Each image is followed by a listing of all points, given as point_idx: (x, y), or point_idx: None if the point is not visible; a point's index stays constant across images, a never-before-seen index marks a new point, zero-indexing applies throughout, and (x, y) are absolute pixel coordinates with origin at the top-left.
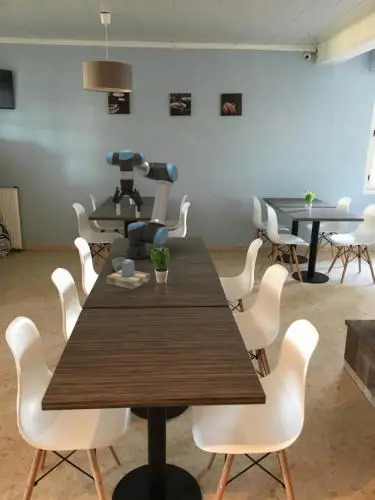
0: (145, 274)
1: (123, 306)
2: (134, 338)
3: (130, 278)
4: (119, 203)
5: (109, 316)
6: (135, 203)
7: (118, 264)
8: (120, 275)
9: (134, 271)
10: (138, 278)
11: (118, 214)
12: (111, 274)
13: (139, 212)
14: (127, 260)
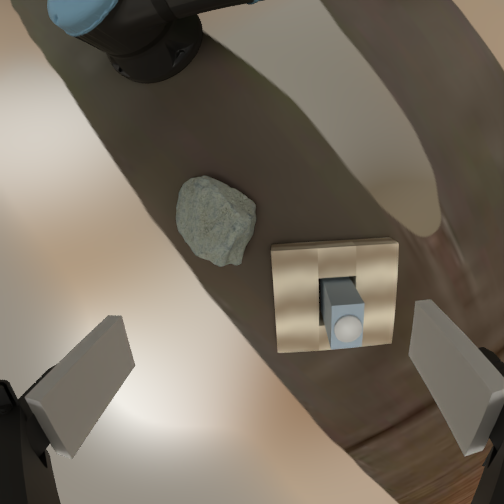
0: (389, 259)
1: (414, 411)
2: None
3: (364, 322)
4: (41, 409)
5: (408, 446)
6: (479, 486)
7: (239, 257)
8: (313, 319)
9: (331, 255)
10: (389, 306)
11: (128, 354)
12: (277, 329)
13: (456, 329)
14: (349, 334)
